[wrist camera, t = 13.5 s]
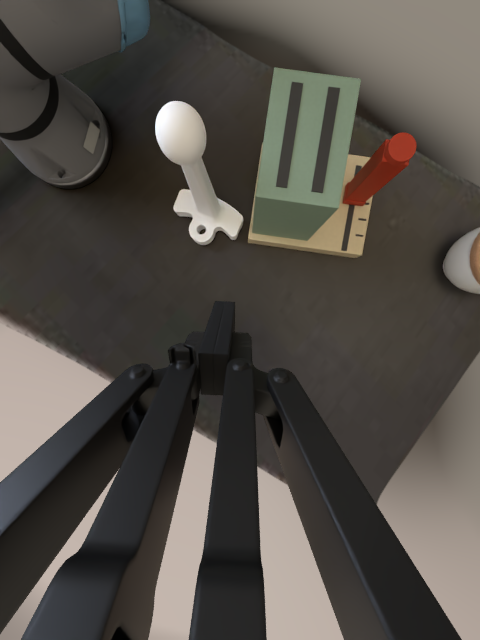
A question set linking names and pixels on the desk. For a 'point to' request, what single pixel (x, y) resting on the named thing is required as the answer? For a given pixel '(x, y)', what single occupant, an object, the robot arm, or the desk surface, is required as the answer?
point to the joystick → (194, 173)
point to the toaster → (309, 167)
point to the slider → (380, 169)
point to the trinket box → (464, 262)
